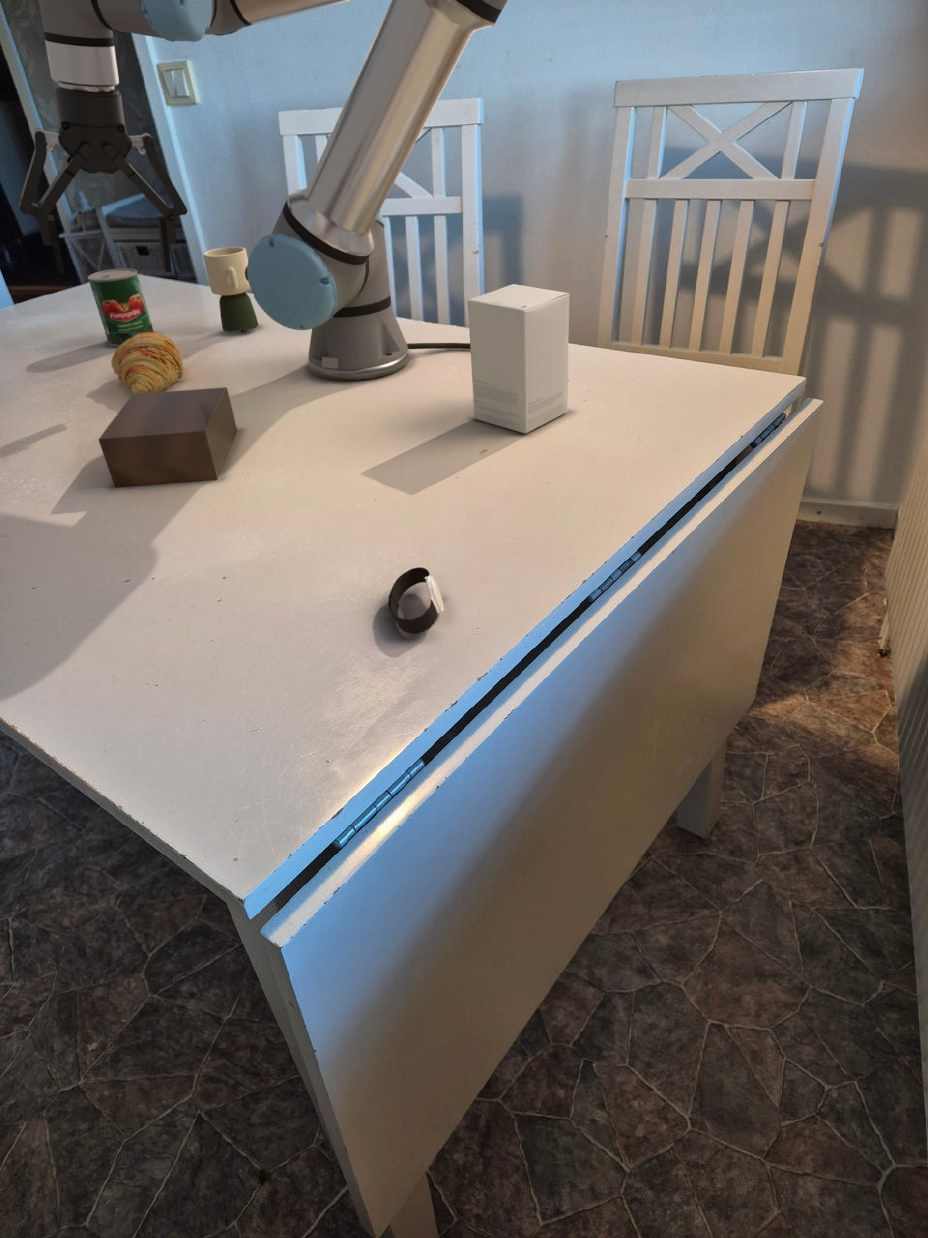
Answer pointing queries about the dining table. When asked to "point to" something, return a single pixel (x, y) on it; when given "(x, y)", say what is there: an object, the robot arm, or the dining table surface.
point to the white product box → (519, 356)
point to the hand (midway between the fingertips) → (115, 270)
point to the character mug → (231, 287)
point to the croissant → (147, 363)
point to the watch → (404, 584)
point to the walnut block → (170, 437)
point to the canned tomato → (120, 304)
